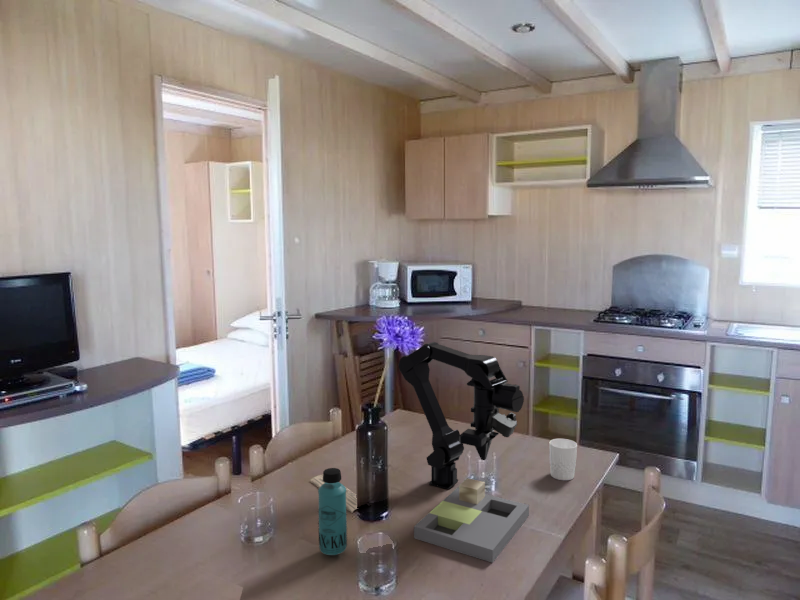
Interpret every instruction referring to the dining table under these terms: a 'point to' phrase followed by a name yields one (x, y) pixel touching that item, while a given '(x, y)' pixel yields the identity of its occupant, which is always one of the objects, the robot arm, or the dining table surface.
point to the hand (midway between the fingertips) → (483, 459)
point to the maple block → (472, 491)
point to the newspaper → (350, 496)
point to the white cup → (562, 458)
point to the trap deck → (472, 525)
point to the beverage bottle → (332, 513)
